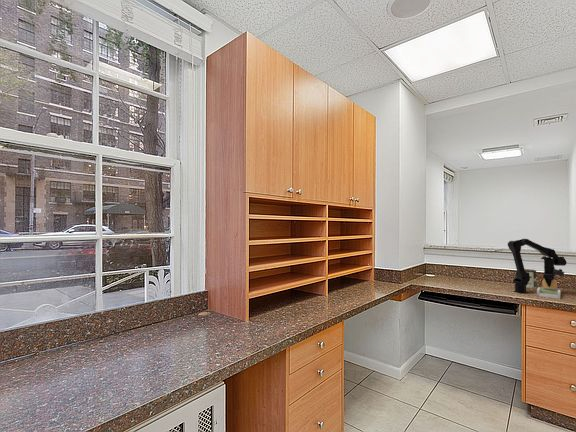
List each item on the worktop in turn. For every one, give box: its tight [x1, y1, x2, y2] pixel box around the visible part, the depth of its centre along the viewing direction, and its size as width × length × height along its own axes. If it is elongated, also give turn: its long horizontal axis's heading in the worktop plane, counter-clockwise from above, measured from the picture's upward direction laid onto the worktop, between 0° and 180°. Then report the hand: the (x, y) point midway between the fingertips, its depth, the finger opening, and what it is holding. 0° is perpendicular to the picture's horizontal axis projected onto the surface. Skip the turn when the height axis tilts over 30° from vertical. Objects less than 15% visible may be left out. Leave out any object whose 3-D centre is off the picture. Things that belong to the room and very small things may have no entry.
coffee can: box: [524, 268, 538, 289], centre depth 253 cm, size 10×10×14 cm
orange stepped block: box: [541, 278, 558, 289], centre depth 230 cm, size 6×8×6 cm
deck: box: [536, 286, 562, 300], centre depth 226 cm, size 28×12×4 cm, turn 137°
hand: (549, 286), depth 230 cm, fingers closed on orange stepped block, 6 cm apart
